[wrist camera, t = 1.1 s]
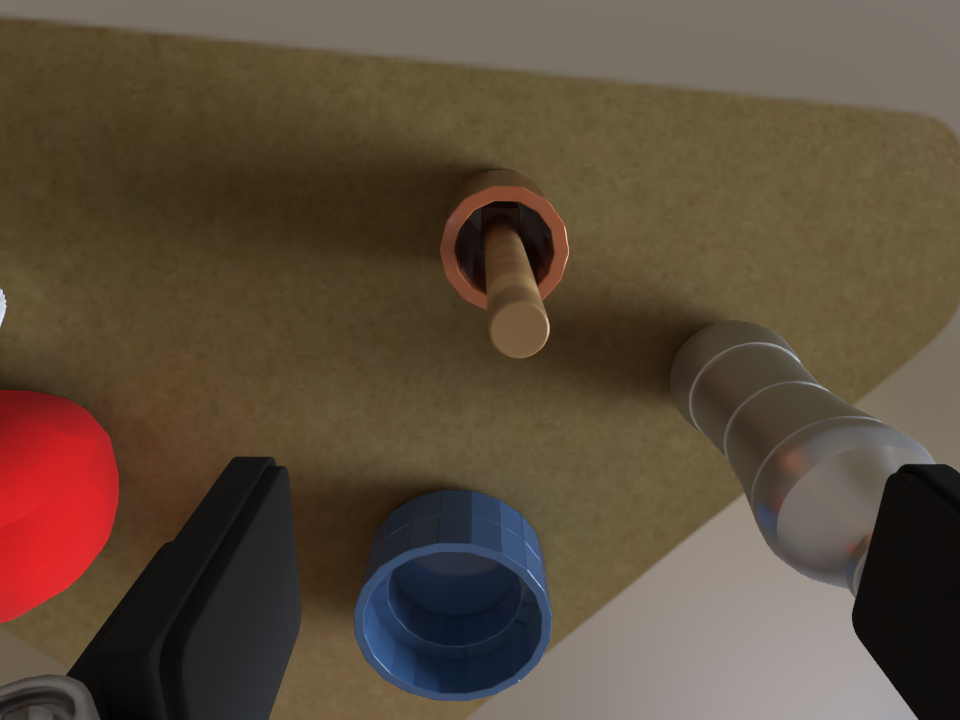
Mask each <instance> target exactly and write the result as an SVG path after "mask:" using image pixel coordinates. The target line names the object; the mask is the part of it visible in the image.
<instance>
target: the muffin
mask: <svg viewBox="0 0 960 720" xmlns="http://www.w3.org/2000/svg"><path fill="white" fill-rule="evenodd" d="M4 298H5V295H4V294H3V290H2V289H0V326H1V323H2V320H3V317H4V314H5V309H6V305H5V303H6V300H5V299H4Z"/></svg>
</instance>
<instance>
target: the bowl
mask: <svg viewBox="0 0 960 720" xmlns="http://www.w3.org/2000/svg"><path fill="white" fill-rule="evenodd" d="M551 625H552V611H551V604H550V597H549V590H548V584H547V576H546V569H545V563H544V556H543V553H542V549H541V546H540V543H539V540H538V537H537V534H536V533H535V531H534V530H533V529H532V527H531V526H530V525H529V524H528V522H527V521H526V520H525V518H524V517H523V516H522V515H521V514H520V513H519V512H517V511H516V510H514V509H513V508H511V507H510V506H508V505H507V504H505V503H504V502H502V501H501V500H498V499H497V498H494V497H491V496H487V495H484V494H481V493H478V492H474V491H457V490H443V491H442V490H441V491H437V492H434V493H430V494H426V495H422V496H418V497H416V498H414V499H412V500H410V501H409V502H407V503H405V504H404V505H402V506H401V507H399V508H397V509H396V510H394V511H393V512H391V513H390V515H389V516H388V517H387V518H386V519H385V521H384V522H383V523H382V524H381V525H380V527H379V528H378V529H377V531H376V532H375V535H374V538H373V541H372V544H371V547H370V550H369V553H368V556H367V560H366V564H365V568H364V572H363V576H362V580H361V584H360V588H359V592H358V596H357V600H356V603H355V607H354V630H355V638H356V640H357V642H358V644H359V647H360V649H361V651H362V653H363V655H364V657H365V659H366V661H367V662H368V663H369V664H370V665H371V666H372V667H373V668H374V669H375V670H376V671H377V672H378V673H379V674H380V675H381V677H382V678H383V679H385V680H386V681H388V682H390V683H392V684H393V685H395V686H397V687H399V688H400V689H402V690H404V691H406V692H408V693H411V694H414V695H418V696H422V697H426V698H430V699H433V700H438V701H466V700H467V701H469V700H473V699H478V698H482V697H486V696H491V695H494V694H497V693H499V692H501V691H503V690H505V689H507V688H509V687H511V686H512V685H514V684H516V683H518V682H520V681H521V680H522V679H523V678H524V677H525V676H526V675H527V674H528V673H529V672H530V671H531V670H532V669H533V668H534V667H535V666H536V665H537V664H538V663H539V662H540V660H541V658H542V656H543V654H544V652H545V650H546V648H547V646H548V644H549V642H550V638H551Z"/></svg>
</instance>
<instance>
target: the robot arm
mask: <svg viewBox="0 0 960 720" xmlns="http://www.w3.org/2000/svg"><path fill="white" fill-rule="evenodd" d="M300 622H301V599H300V589H299V578H298V568H297V557H296V547H295V537H294V526H293V516H292V505H291V495H290V485H289V475H288V471H287V468H286V467H285V466H277V465H276V462H275V459H274V458H273V457H234V458H233V459H232V460H231V461H230V463H229V464H228V465H227V467H226V468H225V470H224V471H223V472H222V474H221V475H220V476H219V478H218V479H217V481H216V482H215V483H214V485H213V486H212V488H211V489H210V490H209V492H208V493H207V495H206V496H205V497H204V499H203V500H202V502H201V503H200V504H199V506H198V507H197V508H196V510H195V511H194V513H193V514H192V515H191V517H190V518H189V520H188V521H187V522H186V524H185V525H184V527H183V528H182V529H181V531H180V532H179V533H178V535H177V536H176V538H175V539H174V540H173V541H171V542H168V543H165V544H164V545H163V546H162V547H161V548H160V549H159V550H158V551H157V553H156V554H155V555H154V557H153V558H152V560H151V561H150V562H149V564H148V565H147V566H146V568H145V569H144V570H143V572H142V573H141V574H140V576H139V577H138V579H137V580H136V581H135V583H134V584H133V585H132V587H131V588H130V589H129V591H128V592H127V593H126V595H125V596H124V598H123V599H122V600H121V602H120V603H119V604H118V606H117V607H116V608H115V610H114V611H113V612H112V614H111V615H110V616H109V618H108V619H107V621H106V622H105V623H104V625H103V626H102V627H101V629H100V630H99V631H98V633H97V634H96V635H95V637H94V638H93V640H92V641H91V642H90V644H89V645H88V646H87V648H86V649H85V650H84V652H83V653H82V654H81V656H80V657H79V658H78V660H77V661H76V663H75V664H74V665H73V667H72V668H71V669H70V671H69V672H68V673H67V675H66V676H61V675H42V676H36V677H30V678H24V679H21V680H18V681H16V682H13V683H10V684H7V685H4V686H1V687H0V720H268V719H269V716H270V713H271V710H272V707H273V705H274V702H275V699H276V696H277V693H278V690H279V687H280V684H281V681H282V679H283V676H284V673H285V670H286V667H287V664H288V661H289V658H290V655H291V653H292V650H293V647H294V644H295V641H296V638H297V635H298V632H299V628H300ZM852 622H853V627H854V630H855V633H856V635H857V636H858V638H859V639H860V641H861V642H862V643H863V645H864V646H865V648H866V649H867V650H868V652H869V653H870V654H871V656H872V657H873V659H874V660H875V661H876V662H877V664H878V665H879V667H880V668H881V669H882V671H883V672H884V673H885V675H886V676H887V677H888V679H889V680H890V682H891V683H892V684H893V686H894V687H895V688H896V690H897V691H898V692H899V694H900V695H901V696H902V698H903V699H904V701H905V702H906V703H907V705H908V706H909V707H910V709H911V710H912V711H913V713H914V714H915V716H916V717H917V718H918V720H960V473H958V472H957V471H956V470H955V469H953V468H952V467H949V466H948V465H945V464H905V465H902V466H901V467H900V468H899V469H898V470H897V472H896V473H893V474H891V475H890V476H889V477H888V478H887V481H886V483H885V487H884V491H883V495H882V499H881V503H880V507H879V510H878V514H877V518H876V522H875V526H874V530H873V534H872V537H871V541H870V545H869V549H868V553H867V557H866V561H865V564H864V568H863V572H862V576H861V580H860V584H859V588H858V592H857V595H856V599H855V603H854V607H853V612H852Z"/></svg>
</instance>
